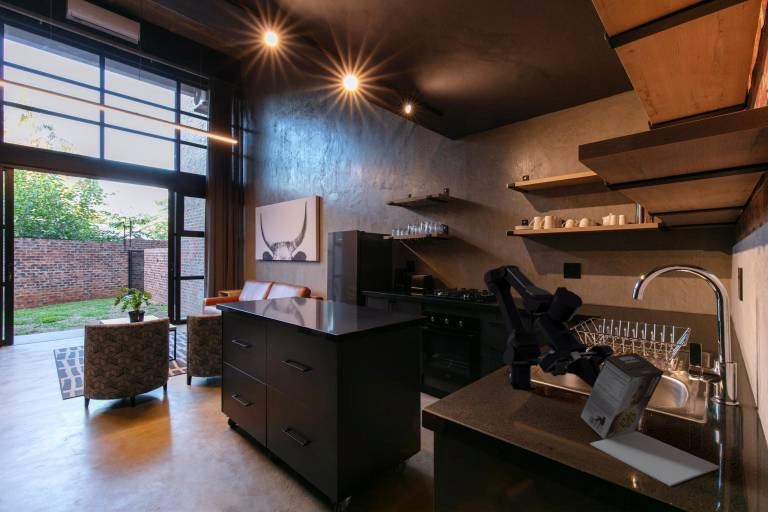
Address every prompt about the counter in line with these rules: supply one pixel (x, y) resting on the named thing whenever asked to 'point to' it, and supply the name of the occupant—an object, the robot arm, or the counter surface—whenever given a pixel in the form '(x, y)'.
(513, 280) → the robot arm
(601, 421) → the coffee box
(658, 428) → the counter surface
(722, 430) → the counter surface
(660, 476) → the grey mat
